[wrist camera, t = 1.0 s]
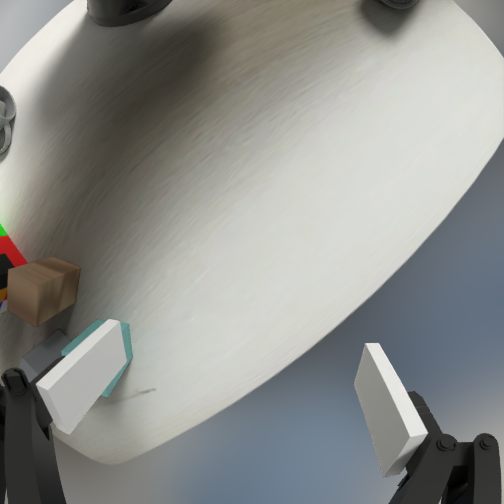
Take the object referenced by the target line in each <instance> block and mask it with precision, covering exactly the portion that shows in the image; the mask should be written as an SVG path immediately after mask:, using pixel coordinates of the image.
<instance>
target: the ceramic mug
mask: <svg viewBox="0 0 504 504" xmlns="http://www.w3.org/2000/svg"><path fill="white" fill-rule="evenodd" d="M15 113H16V105H15V101H14V99H13V97H12V95H11V94H10V92H9V91H8V90H7V89H6V88H4V87H3V86H1V85H0V130H1V129H2V128H3V127H4V130H5V142H4V146H3V148H2V149H0V154H1V153H3V152H4V151H5V150H6V149H7V148H8V146H9V144H10V141H11V128H10V124H9V121H11V120H12V118H13V117H14V116H15Z"/></svg>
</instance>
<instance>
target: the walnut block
mask: <svg viewBox="0 0 504 504" xmlns="http://www.w3.org/2000/svg"><path fill="white" fill-rule="evenodd" d="M80 269H81V268H80V267H78V266H75V265H73V264H71V263H68V262H66V261H63V260H61V259H58V258H56V257H54V256H53V257H49V258H45V259H42V260H38V261H35V262H32V263H28V264H25V265H21V266H18V267H15V268H11V269H8V288H7V310H8V311H10V312H11V313H13V314H15V315H16V316H18V317H20V318H21V319H23V320H25V321H26V322H28V323H30V324H32V325H33V326H35V327H37V326H39V325H41V324H42V323H44V322H45V321H47V320H48V319H50V318H51V317H53V316H54V315H56V314H57V313H59V312H61V311H62V310H64V309H65V308H67V307H69V306H70V305H72V304H73V303H75V302H76V298H77V290H78V283H79V276H80Z"/></svg>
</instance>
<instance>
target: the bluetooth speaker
mask: <svg viewBox="0 0 504 504" xmlns="http://www.w3.org/2000/svg"><path fill="white" fill-rule="evenodd" d="M381 1H382V2H383V3H385V4H387V5H388V6H390V7H393V8H397V9H406V8H409V7H411V6H412V5H414V4H415V3H416V2H417V1H418V0H381Z"/></svg>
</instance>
